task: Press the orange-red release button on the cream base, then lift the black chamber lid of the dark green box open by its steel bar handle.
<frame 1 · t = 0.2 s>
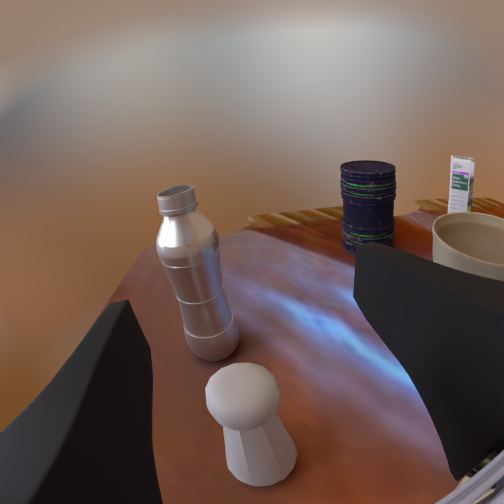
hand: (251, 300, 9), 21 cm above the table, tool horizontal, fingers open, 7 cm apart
syrup box: (457, 218, 59), on the table
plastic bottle: (216, 349, 37), on the table
storage jar: (367, 246, 54), on the table
salt shaker: (264, 466, 22), on the table
planter bowl: (470, 303, 35), on the table
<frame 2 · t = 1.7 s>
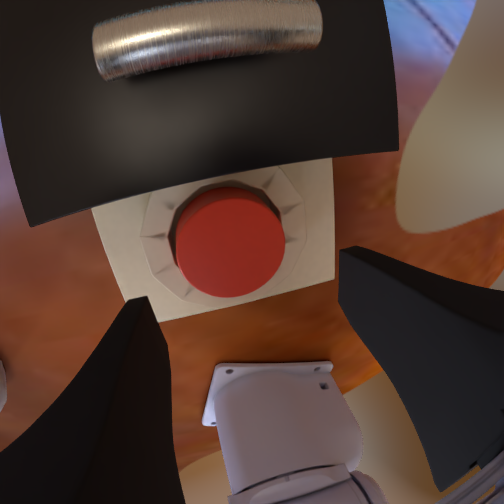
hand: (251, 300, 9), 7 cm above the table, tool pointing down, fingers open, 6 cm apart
button base: (222, 233, 16), on the table
release button: (228, 242, 13), point 3 cm above the table, slide at 0.1 cm
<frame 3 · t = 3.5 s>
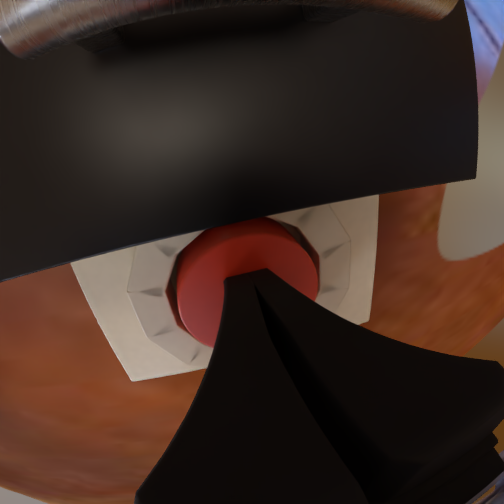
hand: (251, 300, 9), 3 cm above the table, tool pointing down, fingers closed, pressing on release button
button base: (236, 274, 12), on the table
release button: (245, 286, 10), point 2 cm above the table, slide at -0.7 cm, touching gripper
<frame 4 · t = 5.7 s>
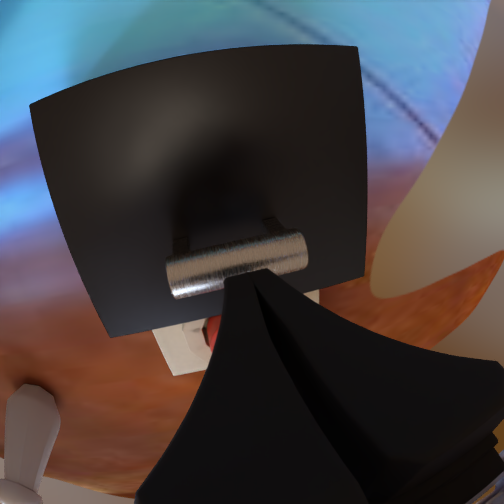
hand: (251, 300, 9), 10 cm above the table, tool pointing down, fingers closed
chamber lid: (223, 206, 11), point 6 cm above the table, hinge at 0.0°
salt shaker: (38, 395, 22), on the table
button base: (236, 314, 22), on the table
release button: (243, 333, 18), point 3 cm above the table, slide at 0.1 cm
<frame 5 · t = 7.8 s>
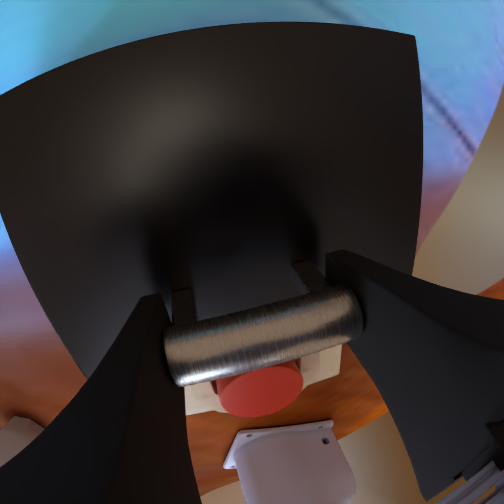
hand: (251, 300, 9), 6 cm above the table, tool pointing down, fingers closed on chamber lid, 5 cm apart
chamber lid: (244, 255, 8), point 6 cm above the table, hinge at 0.0°, touching gripper
salt shaker: (30, 426, 18), on the table
button base: (247, 352, 18), on the table
release button: (258, 382, 15), point 3 cm above the table, slide at 0.1 cm
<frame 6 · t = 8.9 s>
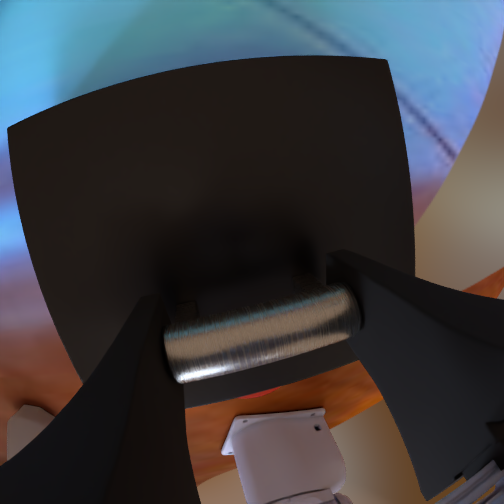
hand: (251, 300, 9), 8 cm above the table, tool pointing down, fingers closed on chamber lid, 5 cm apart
chamber lid: (242, 257, 8), point 8 cm above the table, hinge at 13.9°, touching gripper
salt shaker: (39, 415, 20), on the table
release button: (252, 366, 17), point 3 cm above the table, slide at 0.1 cm
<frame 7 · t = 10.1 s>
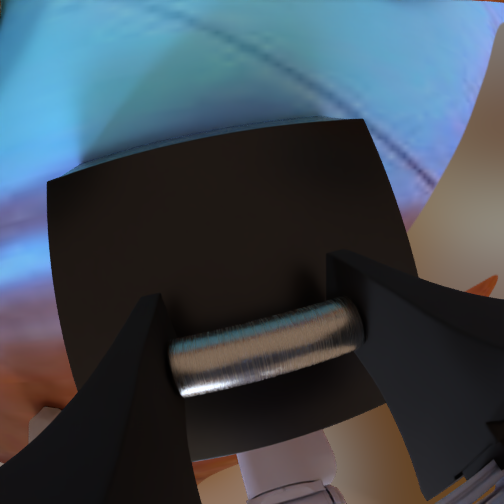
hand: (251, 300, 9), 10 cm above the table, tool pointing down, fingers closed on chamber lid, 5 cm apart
chamber lid: (246, 285, 9), point 10 cm above the table, hinge at 37.0°, touching gripper
salt shaker: (57, 415, 24), on the table
dark green box: (217, 225, 19), on the table
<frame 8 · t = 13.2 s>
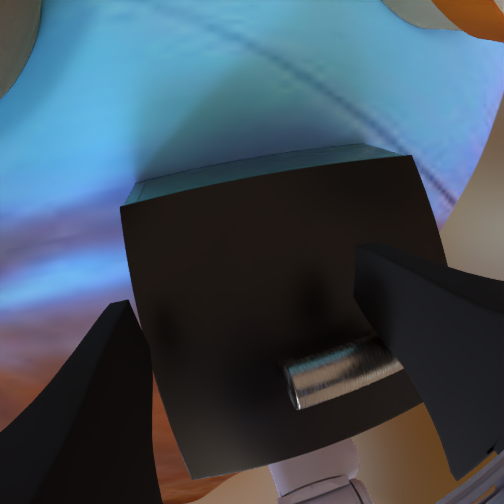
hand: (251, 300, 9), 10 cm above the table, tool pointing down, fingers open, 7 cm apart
chamber lid: (336, 311, 11), point 10 cm above the table, hinge at 36.7°
dark green box: (268, 243, 20), on the table
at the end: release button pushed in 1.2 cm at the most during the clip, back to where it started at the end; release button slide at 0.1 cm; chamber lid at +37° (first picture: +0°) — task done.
